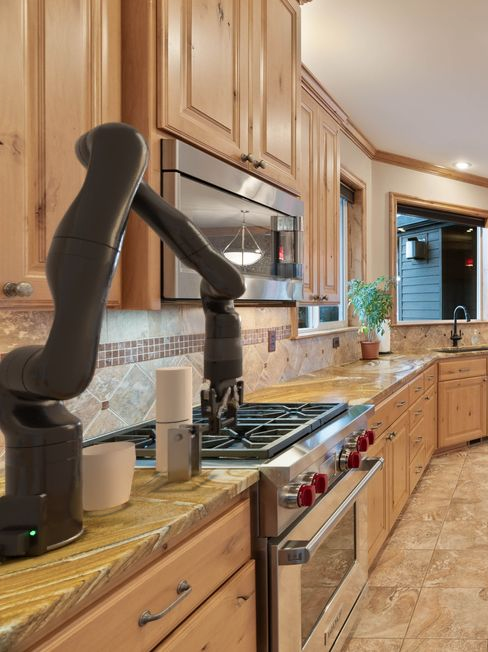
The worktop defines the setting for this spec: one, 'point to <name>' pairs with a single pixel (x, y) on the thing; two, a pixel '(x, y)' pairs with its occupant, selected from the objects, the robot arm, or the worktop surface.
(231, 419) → the lever
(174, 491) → the worktop surface
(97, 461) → the cup
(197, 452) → the bracket
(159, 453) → the cylindrical container
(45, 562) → the worktop surface
